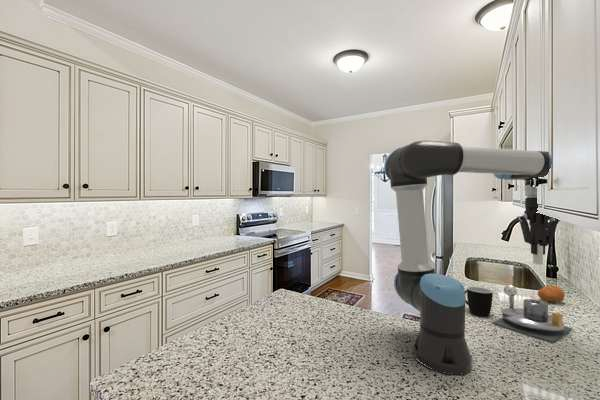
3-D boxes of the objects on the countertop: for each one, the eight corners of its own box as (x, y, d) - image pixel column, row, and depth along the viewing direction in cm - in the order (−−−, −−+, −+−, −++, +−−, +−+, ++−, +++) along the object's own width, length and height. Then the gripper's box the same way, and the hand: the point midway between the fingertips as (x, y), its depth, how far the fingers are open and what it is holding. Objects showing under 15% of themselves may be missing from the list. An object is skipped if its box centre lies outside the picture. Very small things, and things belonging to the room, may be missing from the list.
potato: (571, 304, 132) (571, 288, 132) (552, 306, 129) (552, 289, 129) (549, 298, 141) (549, 282, 141) (531, 299, 138) (532, 284, 138)
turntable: (578, 330, 99) (578, 314, 99) (531, 332, 97) (531, 316, 97) (531, 311, 116) (531, 297, 117) (490, 312, 114) (490, 298, 115)
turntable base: (553, 343, 93) (553, 337, 93) (492, 323, 109) (492, 318, 109) (572, 329, 104) (572, 324, 104) (514, 313, 119) (514, 308, 120)
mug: (497, 316, 116) (497, 291, 116) (482, 319, 113) (482, 293, 113) (470, 306, 127) (470, 283, 127) (455, 309, 124) (455, 285, 124)
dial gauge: (515, 315, 117) (515, 287, 118) (503, 312, 121) (503, 284, 121) (519, 313, 120) (519, 285, 120) (507, 310, 123) (507, 283, 123)
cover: (553, 322, 102) (553, 303, 102) (535, 322, 101) (535, 304, 101) (535, 314, 109) (535, 297, 109) (518, 315, 108) (518, 297, 108)
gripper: (525, 196, 99) (524, 264, 98) (567, 197, 97) (566, 266, 97) (512, 197, 106) (511, 260, 106) (551, 197, 104) (550, 262, 104)
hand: (537, 263), depth 101 cm, fingers closed
